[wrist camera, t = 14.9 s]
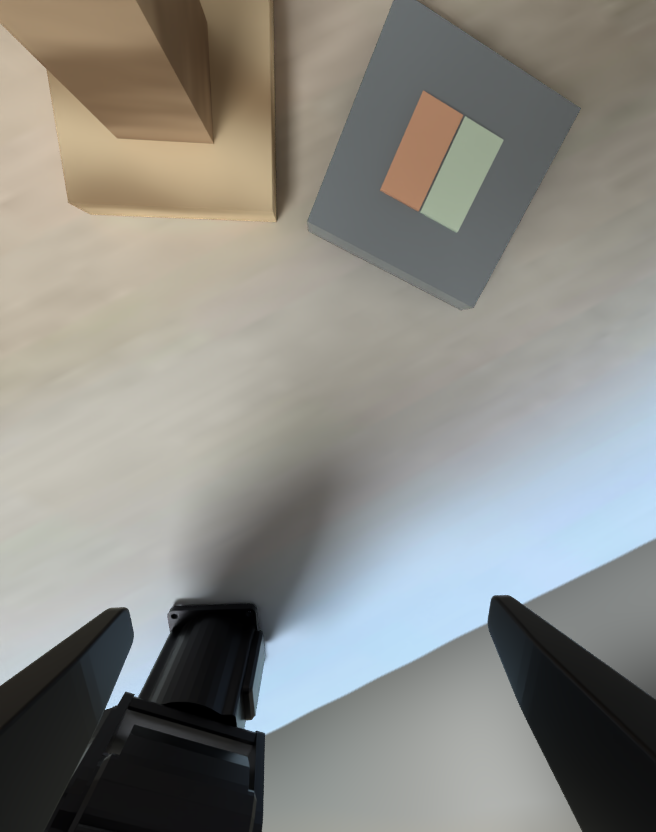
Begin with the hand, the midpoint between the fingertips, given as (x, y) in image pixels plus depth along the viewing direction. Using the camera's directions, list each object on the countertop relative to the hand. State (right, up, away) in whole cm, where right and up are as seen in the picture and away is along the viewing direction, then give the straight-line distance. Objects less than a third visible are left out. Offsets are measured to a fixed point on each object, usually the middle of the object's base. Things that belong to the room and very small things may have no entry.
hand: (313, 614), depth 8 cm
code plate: (+6, +18, +9) cm, 21 cm away
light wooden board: (-7, +21, +8) cm, 23 cm away
